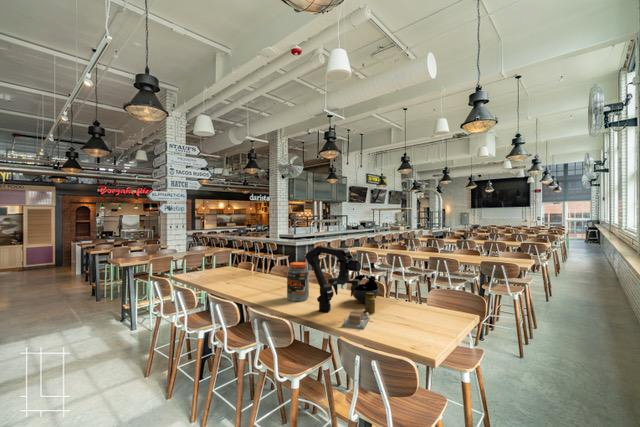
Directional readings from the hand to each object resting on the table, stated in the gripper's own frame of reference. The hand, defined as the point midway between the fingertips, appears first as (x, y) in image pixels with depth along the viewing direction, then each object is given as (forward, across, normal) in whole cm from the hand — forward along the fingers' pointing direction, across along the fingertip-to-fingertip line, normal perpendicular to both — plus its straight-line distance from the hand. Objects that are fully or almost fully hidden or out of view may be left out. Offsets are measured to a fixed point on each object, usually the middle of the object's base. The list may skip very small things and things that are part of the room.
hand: (344, 295), depth 180 cm
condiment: (+12, +13, +11) cm, 21 cm away
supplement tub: (+12, -41, +22) cm, 48 cm away
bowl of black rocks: (+12, +6, +32) cm, 35 cm away
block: (+11, +10, -9) cm, 17 cm away
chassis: (+12, +10, -9) cm, 18 cm away
